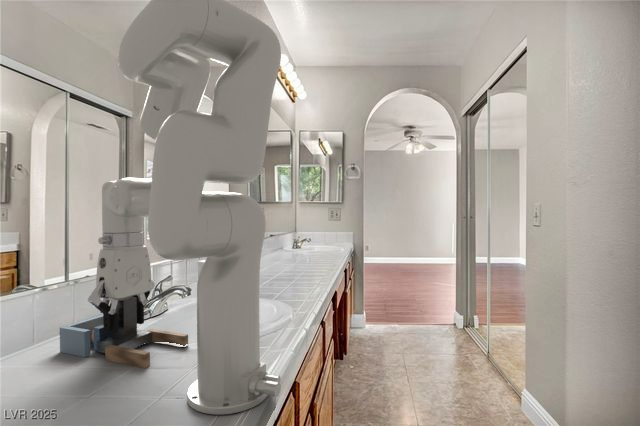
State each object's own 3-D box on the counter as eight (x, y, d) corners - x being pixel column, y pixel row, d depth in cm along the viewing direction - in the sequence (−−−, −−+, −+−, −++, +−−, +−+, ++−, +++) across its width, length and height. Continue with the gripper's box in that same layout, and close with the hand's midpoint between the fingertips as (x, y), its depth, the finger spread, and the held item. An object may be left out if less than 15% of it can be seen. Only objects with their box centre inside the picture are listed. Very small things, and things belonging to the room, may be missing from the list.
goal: (136, 336, 85) (136, 314, 85) (84, 357, 74) (84, 331, 73) (113, 332, 88) (113, 311, 88) (60, 352, 76) (59, 327, 76)
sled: (151, 341, 81) (151, 294, 81) (118, 355, 73) (117, 304, 73) (124, 336, 84) (124, 291, 83) (89, 350, 76) (88, 300, 76)
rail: (188, 346, 79) (188, 334, 79) (144, 368, 68) (144, 354, 68) (151, 340, 83) (151, 328, 83) (105, 360, 72) (105, 347, 72)
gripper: (98, 245, 68) (99, 344, 69) (168, 238, 84) (169, 318, 85) (69, 244, 71) (71, 339, 71) (143, 237, 87) (144, 314, 87)
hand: (124, 326), depth 78 cm, fingers open, 5 cm apart
